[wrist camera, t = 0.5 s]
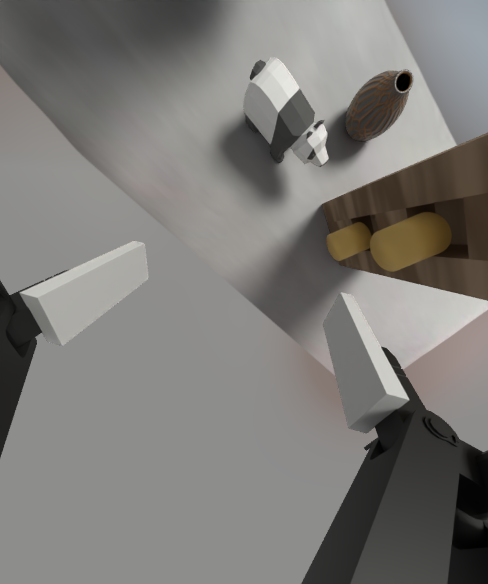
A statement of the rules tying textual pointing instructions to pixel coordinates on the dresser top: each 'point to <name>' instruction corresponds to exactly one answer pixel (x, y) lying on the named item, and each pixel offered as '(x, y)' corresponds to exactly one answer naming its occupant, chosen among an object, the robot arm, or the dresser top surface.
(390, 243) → the button mid
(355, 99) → the vase
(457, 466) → the robot arm
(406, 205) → the button column
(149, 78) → the dresser top surface
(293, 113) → the giant panda
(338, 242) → the button low
